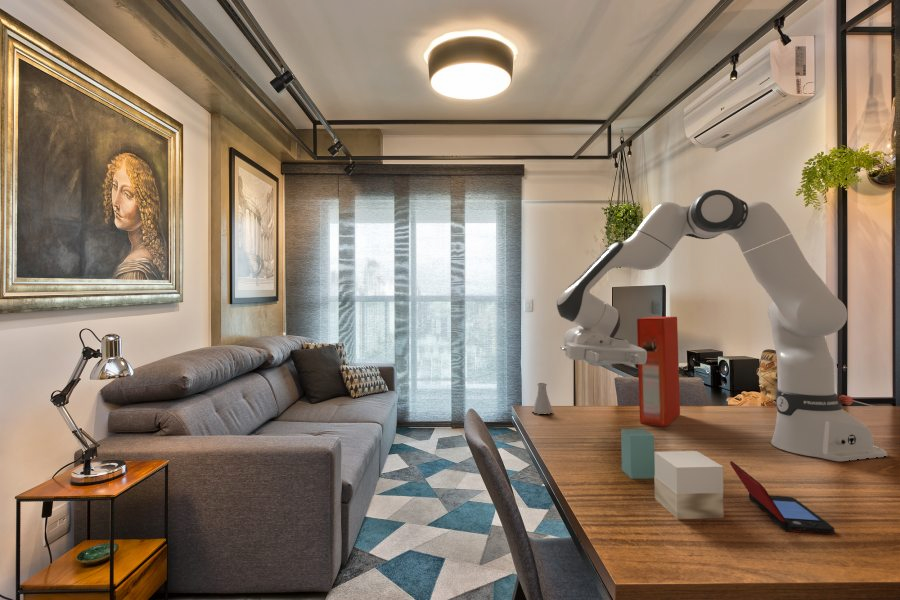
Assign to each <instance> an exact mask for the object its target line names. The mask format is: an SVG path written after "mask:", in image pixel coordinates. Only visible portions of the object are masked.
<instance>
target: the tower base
mask: <svg viewBox="0 0 900 600" xmlns="http://www.w3.org/2000/svg"><path fill="white" fill-rule="evenodd" d="M653 479H654V500H656V501H657V502H658V503H659V504H660V505H661V506H662V507H664V509H666V510H667V511H668V512H669V513H670V514H671V515H672V516H673V517H674V518H675V519H677V520H684V519H685V520H688V519H689V520H691V519H696V520H697V519H724V517H725V515H724V493H696V494H677V493H675V492H674V491H673V490H672V489H671V488H669V487H668V486H667V485H666V484H664V483H663V482H662V481H661V480H660V479H658V478H657V477H656V476H654V478H653Z"/></svg>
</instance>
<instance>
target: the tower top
mask: <svg viewBox="0 0 900 600" xmlns="http://www.w3.org/2000/svg"><path fill="white" fill-rule="evenodd" d="M654 456H655V476H656V477H657V478H658V479H660V480H661V481H662V482H663V483H664V484H666V485H667V486H668V487H669V488H671V489H672V490H673V491H674V492H675V493H677V494H696V493H723V494H724V466H723V465H721V464H719V463H718V462H716V461H714V460H713V459H711V458H709V457H708V456H706V455H704V454H702V453H701V452H699V451H697V450H684V451H683V450H681V451H680V450H679V451H676V450H675V451H654Z"/></svg>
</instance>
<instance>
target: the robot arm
mask: <svg viewBox="0 0 900 600" xmlns="http://www.w3.org/2000/svg"><path fill="white" fill-rule="evenodd" d="M723 234H727V235H729V236H730V237H731V238H733V239H734V241H735V242H736V243H737V244H738V246H739V249H740V251H741V253H742V255H743V257H744V258H745V260H746V263H747V265H748V266H749V268H750V270H751V272H752V274H753V275H754V278H755V279H756V282H757V283H758V284H759V285H761V287H762V288H763V289H764V290H765V292H766V293H767V294H768V296H769V297H770V298H771V300H772V302H771V303H770V304H769V306H768V311H767V316H768V318H769V321H770V327H771V333H772V339H773V340H772V341H773V344H774V348H775V353H776V354H775V355H776V367H777V368H776V369H777V370H776V371H777V388H776V389H775V403H776V404H775V406H776V410H777V412H776V422H775V426H774V427H775V428H774V433H773V436H772V438H771V440H770V443H771V445H772V446H774V447H775V448H778V449H780V450H783V451H785V452H789V453H793V454H797V455H801V456H808V457H815V458H821V459H825V460H827V461H828V460H829V461H835V462H846V461H847V462H849V460H850V461H858V460H857V459H859V460H865V459H866V458H869V459H875V458H876V457H878V458H884V456H886V457H888V452H887V451H886V449H883V448H881V447H880V446H877V445H874V439H873V434H872V432H871V430H870V428H869V427H868V426H867V424H865V423H863V422H861V421H860V420H859V419H858V418H855V417H854V416H853V415H851V414H850V413H849V412H848V411H846V410H844V408H843V405H842V404H845V405H848V406H850V405H852V404H853V403H854V399H853V398H852V396H850V395H849V396H848V395H844V394H841V395H838V394H837V393H836V391H835V389H836V388H835V361H834V358H833V357H832V355H831V353H830V351H829V347H828V343H827V340H826V339H827V338H826V336H830V335H832V334H834V333H836V332H838V331H839V330H841V329H842V328H843V327H844V325H845V324H846V322H847V319H848V310H847V308H846V305H845V304H844V303H843V301H842V300H840V299H839V298H838V297H837V296H835V294H833V293H832V291H831V290H830V288H829V287H828V286H827V284H826V283H825V282H824V281H823V279H822V278H821V277H820V275H818V274H817V272H816V271H815V270H814V269H813V267H812V266H811V265H810V263H809V262H808V260H807V259H806V257H805V255H804V254H803V251H802V250H801V248H800V246H799V245H798V243H797V241H796V239H795V237H794V235H793V234H792V232H791V230H790V228H789V227H788V225H787V223H786V222H785V220H784V219H783V218H782V216H781V215H780V214H779V213H778V212H777V211H776V209H775V208H774V207H773V206H772V205H771V204H770V203H767V202H764V201H756V202H755V201H754V202H750V203H747V202H746V201H744V200H742V199H741V198H739V197H737V196H735V195H734V194H732V193H731V192H728V191H726V190H722V189H712V190H709V191H706V192H703V193H701V194H700V195H698V196H697V197H696V198H695V200H694V201H693V202H692V203H691V204H690V205H688V206H687V205H686V206H682V205H680V204H678V203H675V202H669V201H664V202H661V203H659V204H658V205H656V206H655V207H654V208H653V209H652V210H651V211H650V212H649V213H648V214H647V216H646V217H645V218H643V220H642V222H641V223H640V224H639V226H638V227H637V228H636V229H635V231H634V232H633V234H631V235H630V236H629V237H628V238H626V239H625V240H623V241H622V242H620V241H618V242H617V241H616V242H614V243H612V244H611V245H610V246H608V247H606V249H605V250H604V251H603V252H601V254H600V255H598V256H597V258H596V259H595V260H594V261H593V262H592V263H591V264H590V265H589V266H588V268H586V269H585V270H584V271H583V273H581V275H579V276H578V278H577V279H576V280H574V282H573V283H572V284H570V285H568V287H567V288H565V289H564V290H563V291H562V292H561V293H560V295H559V297H558V299H557V300H556V309H557V311H558V314H559V317H561V318H562V319H564V320H567V321H569V322H571V323H574V324H575V325H577V326H574V327H571V328H569V329H568V330H566V332H565V333H564V336H563V344H564V345H560V350H561V351H564V352H565V353H564V354H565V356H566V357H567V358H568V359H569V360H572V361H582V362H584V363H586V364H588V365H590V366H592V367H593V366H594V367H602V366H604V365H605V366H607V365H616V364H620V365H621V364H629V365H630V364H631V365H638V364H641V365H643V364H645V363H646V359H647V351H646V350H645V349H643V348H640V347H638V345H635V344H634V343H629V340H627V339H623V338H617V337H615V336H616V334H617V333H618V331H619V329H620V325H621V315H620V311H619V310H618V309H617V308H615V307H614V306H613V305H611V304H609V303H608V302H606V301H603V300H602V299H601V298H599V297H597V296H596V295H594V294H593V293H591V292H590V291H591V289H592V288H594V287H595V286H596V285H597V284H598V282H599V281H600V280H601V279H602V278H603V277H604V276H605V275H606V274H607V273H609V271H611V270H613V269H615V268H627V269H633V270H637V271H649V270H653V269H656V268H658V267H660V266H661V265H662V264H663V263H664V262H665V261H666V260H667V258H668V257H669V256H670V254H671V253H672V252H673V251H674V249H675V247H676V245H678V244H679V242H680V241H681V239H682V238H684V237H690V238H696V239H699V240H710V239H714V238H717V237H718V236H721V235H723ZM876 459H877V458H876ZM866 460H867V459H866Z"/></svg>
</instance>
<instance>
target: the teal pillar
mask: <svg viewBox="0 0 900 600" xmlns="http://www.w3.org/2000/svg"><path fill="white" fill-rule="evenodd" d="M620 432H621V433H620V434H621V436H620V438H621V440H620V442H621V445H620V446H621V447H620V448H621V471H622V472H623V473H625V475H626V476H628V477H629V478H630V479H633V480H634V479H644V480H645V479H654V476H655V456H654V452H655V435H654V434H652V433H651V432H650V431H648V430H646V429H645V428H621V429H620Z"/></svg>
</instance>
